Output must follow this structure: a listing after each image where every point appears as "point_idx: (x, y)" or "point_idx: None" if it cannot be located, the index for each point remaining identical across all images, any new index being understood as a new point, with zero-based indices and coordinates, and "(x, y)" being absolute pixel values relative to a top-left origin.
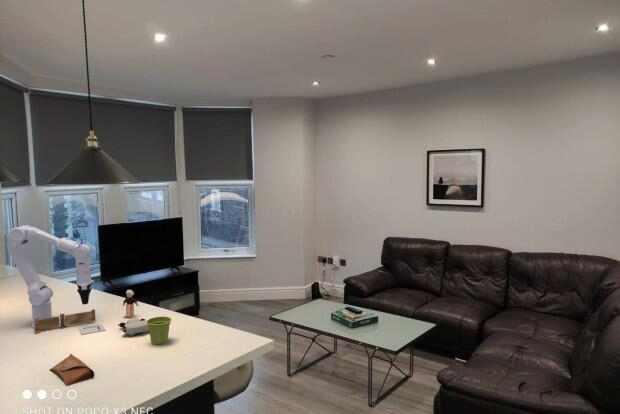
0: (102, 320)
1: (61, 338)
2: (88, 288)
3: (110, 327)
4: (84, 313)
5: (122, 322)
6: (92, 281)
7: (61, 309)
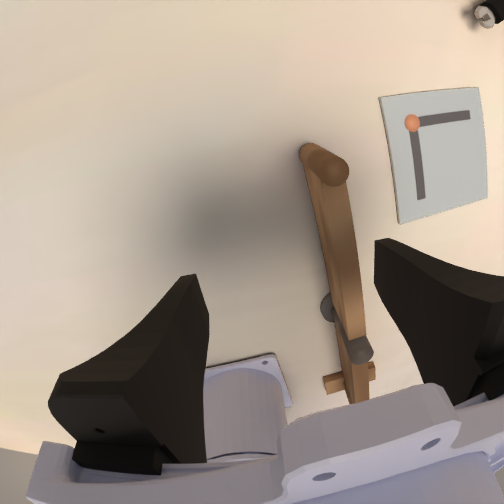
0: (287, 98)
1: (477, 268)
2: (501, 341)
3: (441, 56)
4: (353, 231)
5: (495, 6)
6: (451, 432)
7: (39, 356)
